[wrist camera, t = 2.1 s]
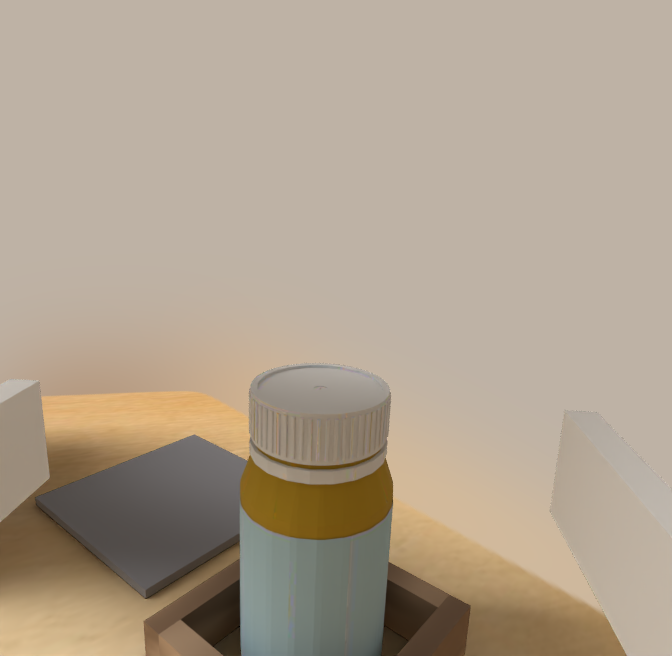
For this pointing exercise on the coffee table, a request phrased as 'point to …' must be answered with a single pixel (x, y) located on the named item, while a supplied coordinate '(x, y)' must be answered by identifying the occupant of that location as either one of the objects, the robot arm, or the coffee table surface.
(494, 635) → the coffee table surface
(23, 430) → the robot arm
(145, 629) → the walnut collar
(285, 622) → the bottle
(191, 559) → the charcoal mat
